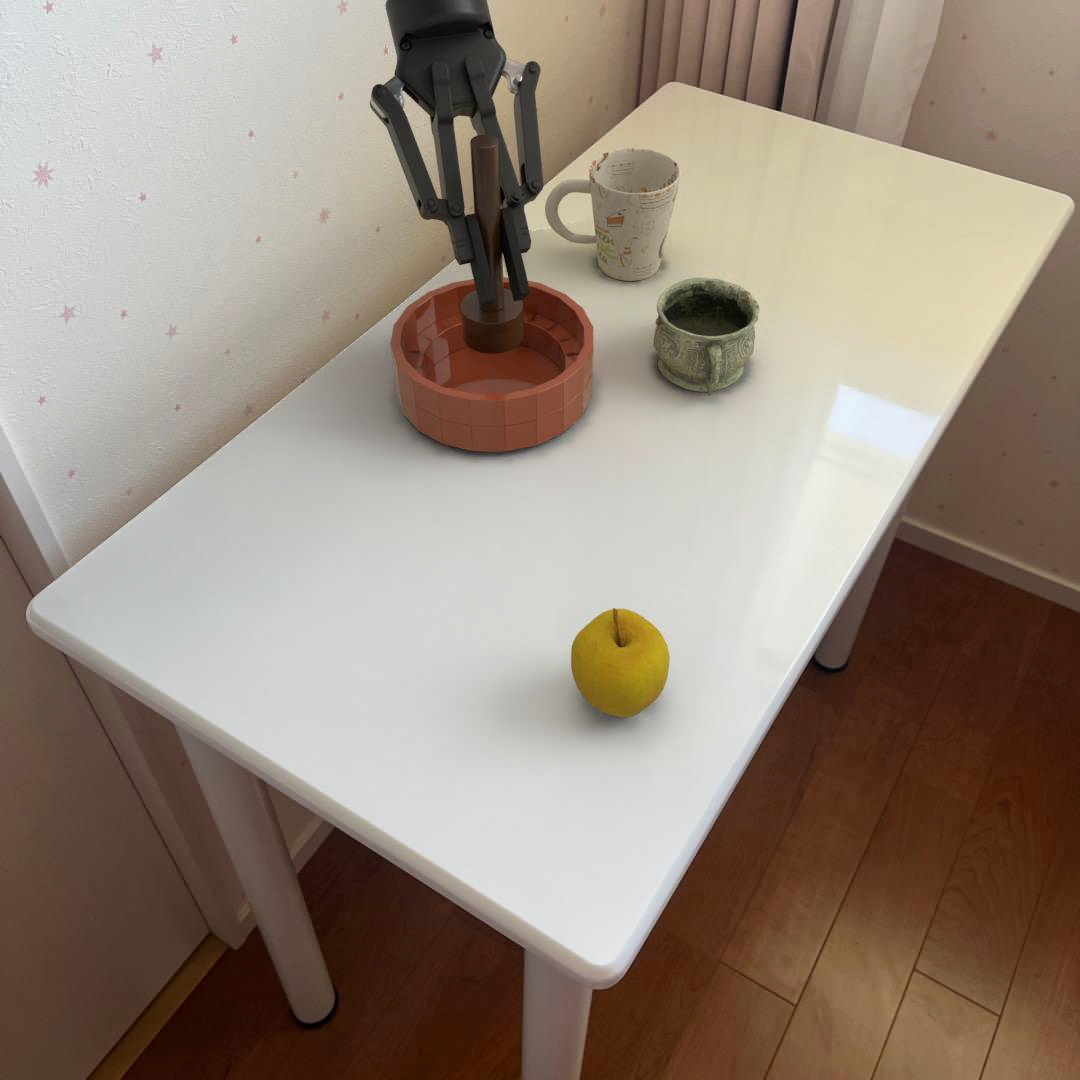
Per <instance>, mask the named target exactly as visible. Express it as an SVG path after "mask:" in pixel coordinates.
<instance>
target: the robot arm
mask: <svg viewBox="0 0 1080 1080" xmlns="http://www.w3.org/2000/svg"><path fill="white" fill-rule="evenodd" d="M385 11H386V16H387V19H388V20H387V21H388V25H389V28H390V33H391V37H392V41H393V45H394V51H395V54H396V65H395V69H394V75H393V76H392V77H391V78H390V79H389V80H387V81H386V82H385V83H384V84H382V83H377V84H375V85H373V86H372V88H371V92H370V93H371V94H370V99H369V108H370V109H371V111H372V113H374V114H375V116H376V117H377V118H378V119H379V120H380V121H381V123H382V124H383V125H384V126H385V128H386V129H387V133H388V135H389V137H390V141H391V144H392V145H393V148H394V150H395V153H396V156H397V158H398V161H399V163H400V166H401V169H402V171H403V173H404V177H405V179H406V182H407V185H408V187H409V190H410V193H411V195H412V197H413V201H414V203H415V206H416V208H417V210H418V214H419V215H420V217H421V218H422V219H423V220H425V221H430V220H435V221H441V222H443V223H444V224H445V226H446V227H447V229H448V233H449V238H450V242H451V247H452V250H453V255H454V258H455V261H456V262H457V264H458V265H459V266H463V265H468V264H469V267H470V270H471V274H472V279H474V283H475V287H476V292H477V296H478V300H479V304H480V308H484V307H489V306H491V304H492V303H493V302H494V301H495V300H496V297H495V293H494V288H493V284H492V280H491V275H490V271H489V267H488V263H487V258H486V254H485V250H484V245H483V241H482V237H481V232H480V228H479V224H478V220H477V215H476V213H474V212H473V213H470V214H465V213H466V212H465V209H466V207H465V200H464V192H463V191H464V190H463V183H462V177H461V169H460V161H459V153H458V149H457V148H458V147H457V139H456V131H455V124H454V123H455V118H457V117H466V118H467V117H469V120H470V124H471V126H472V129H473V130H474V131H475V133H476V136H477V135H483V134H487V135H492V136H495V137H496V138H497V139H498V147H499V174H500V201H501V228H502V256H503V262H504V265H505V269H506V274H507V277H508V279H509V283H510V287H511V292H512V296H513V300H514V301H519V300H523V299H524V298H525V297H526V296H527V295H528V294H529V293H530V289H529V284H528V281H529V280H528V275H527V271H526V268H525V264H524V263H525V262H524V258H523V255H522V254H525V253H528V252H529V251H530V249H531V246H532V237H531V234H530V229H529V225H528V220H527V216H526V212H525V206H526V205H527V204H529V203H531V202H533V201H536V199H537V198H538V196H539V195H540V193H542V191H543V189H544V175H543V164H542V153H541V141H540V131H539V119H538V111H537V99H536V91H537V86H538V83H539V79H540V76H541V66H540V64H539V63H538V62H537V61H536V60H530V61H528V62H527V63H525V64H524V63H521V62H519V61H515V60H513V59H511V58H507V54H506V50H504V47H502V46H501V44H500V43H499V42H498V40H497V38H496V35H495V30H494V26H493V21H492V16H491V13H490V12H491V11H490V9H489V4H488V0H386V2H385ZM502 77H504V79H505V80H506V82H507V90H508V91H509V93H510V94H512V95H514V97H513V119H514V128H515V138H516V151H517V161H518V171H519V180H520V182H519V180H518V177H517V174H516V171H515V168H514V166H513V162H512V160H511V156H510V153H509V150H508V147H507V143H506V142H505V137H504V135H503V132H502V129H501V126H500V123H499V120H498V117H497V110H496V106H495V102H494V99H493V97H494V94H495V92H496V90H497V87H498V85H499V82H500V80H501V78H502ZM403 92H404V93H405V94H406V95H407V96H408V97H410V99H412V100H413V101H414V102H415V103H416V104H417V105H418V106H419V107H420V108H421V109H422V110H423V111H424V112H425V113H426V114H428V115H429V123H430V130H431V134H432V137H433V142H434V150H435V158H436V165H437V172H438V174H437V175H438V179H439V180H438V181H439V189H440V195H441V198H439V197H438V195H437V192H436V189H435V187H434V185H433V182H432V179H431V177H430V174H429V171H428V169H427V166H426V164H425V161H424V158H423V156H422V153H421V150H420V147H419V144H418V142H417V140H416V137H415V135H414V132H413V130H412V127H411V124H410V122H409V119H408V116H407V114H406V112H405V110H404V107H405V102H406V100H405V97H404V95H403ZM519 183H520V184H519Z"/></svg>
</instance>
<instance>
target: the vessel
mask: <svg viewBox="0 0 1080 1080" xmlns="http://www.w3.org/2000/svg"><path fill="white" fill-rule="evenodd" d="M656 312H657V318H656V319H655V325H656V326H655V329H654V335H653V343H652V344H653V347H654V349H655V351H656V353H657V355H658V362H657V368H658V369H659V371H660V373H661V375H662V376H663V377H664V378H665V379H667V380H668V381H669V382H671V383H672V385H676V386H678V387H680V388H683V389H685V390H689V391H692V392H701V393H707V395H708V396H712V395H713V394H714V392H715V391H720V390H723V389H726V388H728V387H730V386H731V385H733V384H734V383H736V382H737V381H738V380H739V379H740V378H741V377H742V375H743V374H744V371H745V364H746V363H747V362H748V361H749V359H750V358H751V357H752V355H753V353H754V349H755V339H756V330H755V324H756V323H757V322H758V321H759V315H760V314H759V313H760V306H759V303H758V301H757V300H756V299H755V297H754V296H753V295H752V293H751V292H750V291H748V290H747V289H745V288H743V287H742V286H740V285H738V284H736V283H732V282H730V281H727V280H724V279H719V278H713V277H711V278H710V277H692V278H686V279H684V280H683V279H682V280H679V281H677V282H675V283H673V284H672V285H670V286H668V287H667V288H665V289H664V290H663V291H662V292H661V293H660V295H659V296H658V298H657V302H656Z"/></svg>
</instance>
